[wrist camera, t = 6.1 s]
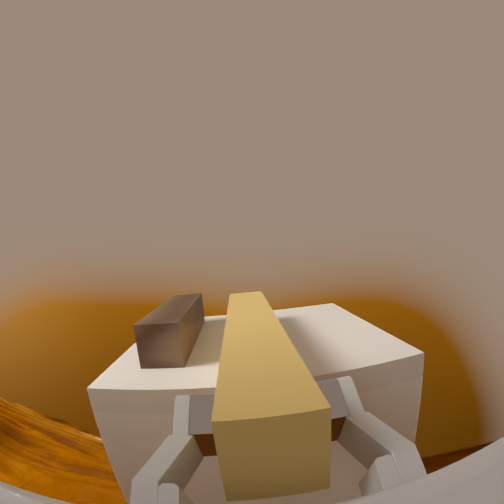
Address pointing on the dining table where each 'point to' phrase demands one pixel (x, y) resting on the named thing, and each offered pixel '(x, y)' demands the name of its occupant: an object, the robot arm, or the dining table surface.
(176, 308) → the walnut bar
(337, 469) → the off-white stand
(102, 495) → the dining table surface
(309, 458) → the ochre bar
